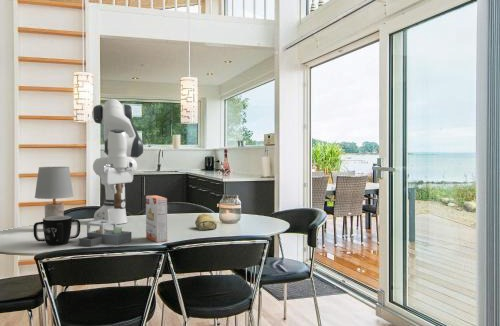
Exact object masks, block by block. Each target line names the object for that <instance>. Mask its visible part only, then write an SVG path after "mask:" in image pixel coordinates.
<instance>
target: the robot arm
mask: <svg viewBox="0 0 500 326" xmlns="http://www.w3.org/2000/svg"><path fill="white" fill-rule="evenodd" d="M91 117H92V119H93V121H94V122H95V124H100V125H102V124H103V145H104V146H103V147H104V151H103V152H104V154H105V155H107V157H105V156H104V157H99V158H98V157H97V158H95V160H94V161H93V164H92V169H93V171H94V173H95V174H96V176H98V177H99V178H100V183H101V185H103V186H104V189H105V191H104V192H105V198H104V200H102V206H101V207H100V208H98V209H97V210H96V211H95V212H94V214H93V219H91V220H90V221H89V223H90V222H95V221H99V220H105V221H117V225H120V224H121V225H122V224H126V223H128V222H129V221H128V217H127V216H128V215H127V212H126V211H127V210H126V203H127V200H126V199H127V198H126V187H125V185H126V184H128V183H132V182H133V180H134V175H135V174H136V172H137V170H138V163H137V162H138V161H136V160H135V159H137V158H139V157H140V156H141V155H142V154H144V143H143V140H142V139H141V137H140V135H139V133H138V131H137V129H136V128H137V127H136V126H135V124H134V122H133V118H134V110H133V108H132V106H131V105H130V104H126V103H125V104H122V103H121V102H120V101H119V99H116V98H109V99H107V100H106V101H105V102H104V104H97V105H95V106H94V107H93V108H92V111H91ZM120 174H121V175H120ZM120 183H121V208H120V209H114V194H117V190H116V188H115V186H116V184H120Z"/></svg>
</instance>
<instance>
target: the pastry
mask: <svg viewBox="0 0 500 326" xmlns="http://www.w3.org/2000/svg"><path fill="white" fill-rule="evenodd" d="M194 224H195V226H196V228H197V230H199V231H207V230H208V231H209V230H215V229H216V228H217V227H218V223H217V221H216V220H215V218H214V216H212V215H210V214H206V213H202V214H200V215H198V216H197V218H196V219H195V222H194Z"/></svg>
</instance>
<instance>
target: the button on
mask: <svg viewBox="0 0 500 326" xmlns="http://www.w3.org/2000/svg"><path fill="white" fill-rule="evenodd" d="M122 228H123V227H122V226H121V227H120V226H117V227H115V228H114V234H121V233H122V231H123V230H122Z"/></svg>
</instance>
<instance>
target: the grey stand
mask: <svg viewBox="0 0 500 326" xmlns="http://www.w3.org/2000/svg"><path fill="white" fill-rule="evenodd" d="M112 225H113V229H106V232H104V229H105V227H107V226H112ZM91 226H93V227H99V229H101V233H100V232H98V229H97V230H93V231H91ZM115 227H118V224H117V221H105V220H99V221H95V222H90V221H89V222H87V223H86V237H88V236H96V237H102V244H110V245H120V244H123V243H126V242H131V241H132V240H133V238H132V236H133V235H132V231H128V230H127V231H125V230H122V233H121V234H114V228H115Z"/></svg>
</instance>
